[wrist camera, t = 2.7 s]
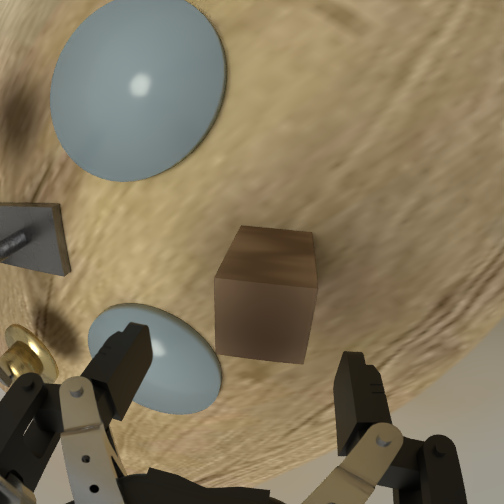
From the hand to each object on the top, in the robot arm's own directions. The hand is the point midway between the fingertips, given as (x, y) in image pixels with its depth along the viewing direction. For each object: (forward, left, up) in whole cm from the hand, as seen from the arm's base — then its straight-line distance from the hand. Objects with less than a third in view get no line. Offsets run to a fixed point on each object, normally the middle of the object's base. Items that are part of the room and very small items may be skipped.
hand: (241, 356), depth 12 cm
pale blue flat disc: (+9, -11, -9) cm, 18 cm away
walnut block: (-1, 0, -10) cm, 9 cm away
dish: (+9, +12, -9) cm, 18 cm away
